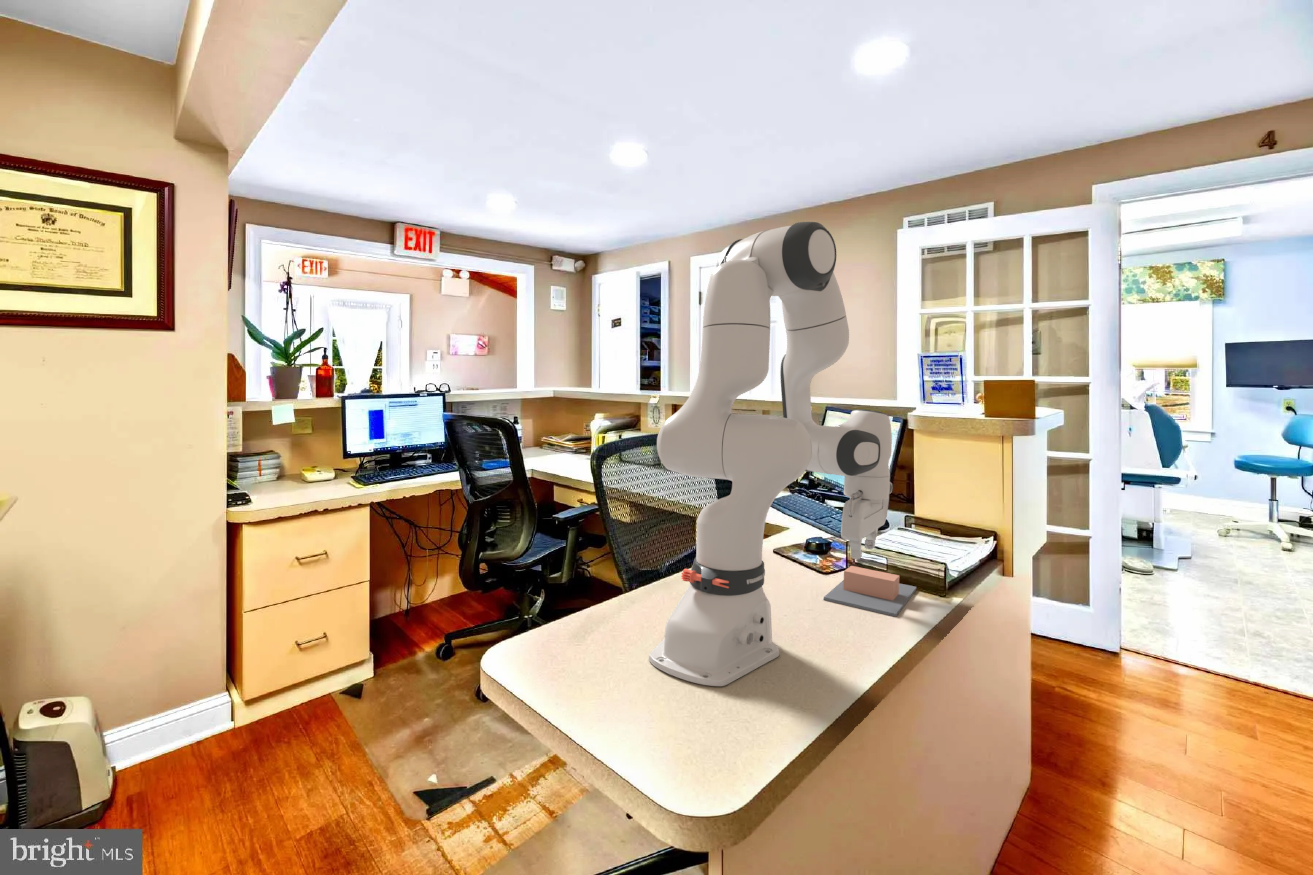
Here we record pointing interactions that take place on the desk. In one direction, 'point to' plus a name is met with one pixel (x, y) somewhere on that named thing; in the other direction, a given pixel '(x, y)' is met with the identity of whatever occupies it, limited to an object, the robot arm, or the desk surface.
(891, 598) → the block
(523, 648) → the desk surface
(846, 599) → the mat
